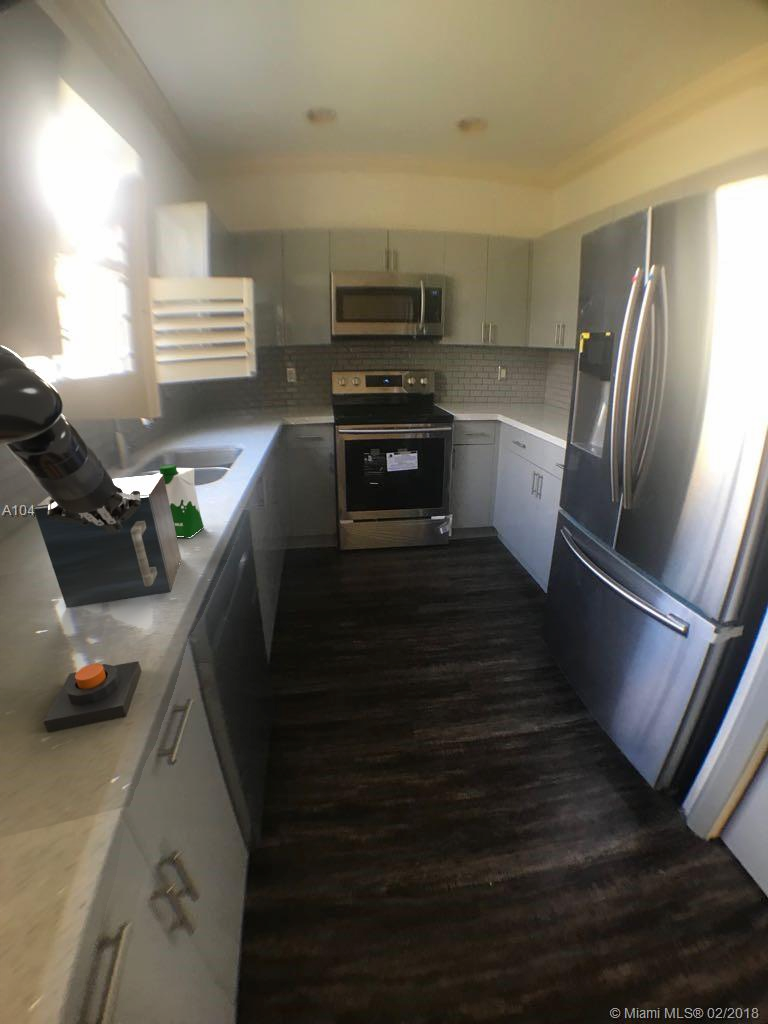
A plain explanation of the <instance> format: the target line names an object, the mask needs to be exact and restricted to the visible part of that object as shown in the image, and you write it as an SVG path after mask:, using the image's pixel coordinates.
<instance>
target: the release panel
mask: <svg viewBox="0 0 768 1024" xmlns="http://www.w3.org/2000/svg"><path fill="white" fill-rule="evenodd" d="M101 665H102V666H103V668H104V671H105V674H106V678H105V680H104V681H103V682H102V683H100V684H99V685H97V686H95V687H92V688H89V689H80V688H79V687H78V685H77V682H76V679H75V675H76V673H77V672H78V671H77V672H71V673H69V674H68V676H67V677H66V679H65V681H64V683H63V685H62V687H61V689H60V690H59V692H58V694H57V696H56V697H55V699H54V701H53V703H52V704H51V707H50V708H49V710H48V712H47V714H46V716H45V718H44V719H43V725H44V728H45V729H46V731H47V733H48V734H50V733H55V732H59V731H64V730H68V729H74V728H78V727H83V726H88V725H92V724H93V725H94V724H98V723H103V722H108V721H112V720H117V719H123V718H126V717H127V716H128V712H129V710H130V707H131V704H132V701H133V698H134V695H135V692H136V689H137V686H138V683H139V680H140V677H141V674H142V668H141V665H140V661H138V660H137V661H132V662H126V663H119V664H115V665H111V664H107V663H103V664H101Z"/></svg>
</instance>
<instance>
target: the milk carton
mask: <svg viewBox="0 0 768 1024" xmlns="http://www.w3.org/2000/svg"><path fill="white" fill-rule="evenodd" d="M158 468H159V472H157V473H154V475H160V474H163V476H164V481H165V485H166V490H167V495H168V499H169V504H170V508H171V513H172V518H173V522H174V527H175V532H176V536H184V537H191V536H192V535H194V534H195V533H196V532H198V531H199V530H200V529H202V528H203V527H204V528H205V525H204V521H203V519H202V516H201V511H200V506H199V501H198V496H197V495H198V494H197V491H196V485H195V468H194V467H177V466H176V464H173V463H172V464H163V465H161V466H159V467H158Z"/></svg>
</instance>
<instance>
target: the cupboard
mask: <svg viewBox="0 0 768 1024" xmlns="http://www.w3.org/2000/svg"><path fill="white" fill-rule="evenodd" d="M112 480H113V482H114V484H115V486H117V487H119V488H121V489H122V490H123V493H128V494H130V493H131V492H132V491H135V490H136V491H140V496H148V495H149V496H150V500H151V504H152V508H153V513H154V517H155V521H156V526H157V530H158V534H159V538H160V543H161V547H162V551H163V556H164V560H165V564H166V569H167V573H168V577H169V582H170V586H171V590H173V587H174V584H175V581H174V580H176V578H175V577H177V575H176V574H178V571H179V568H180V565H179V563H180V564H181V562H180V560H181V561H182V556H181V551H180V550H181V549H180V546H179V542H178V538H177V536H176V532H175V527H174V522H173V518H172V513H171V508H170V504H169V499H168V495H167V490H166V485H165V481H164V476H163V474H160V475H155V474H152V475H139V476H131V477H130V476H129V477H119V478H112ZM51 499H52V498H51V497H50V496H49V495H48V496H47V497H45V498H44V500H42V501H41V502H40V503H38V504H37V505H36V506H35V508H36V507H44V506H48V504H49V500H51ZM178 567H179V568H178ZM177 570H178V571H177Z"/></svg>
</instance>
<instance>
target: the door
mask: <svg viewBox="0 0 768 1024" xmlns="http://www.w3.org/2000/svg"><path fill="white" fill-rule="evenodd" d="M140 497H141V506H140V507H139V508H138V509H137V510H136V511H135V512H134V513H133V514H132V515H131V516H130V517H129V518H128V519H127V520H126V521H122V529H120V532H118V533H110V534H109V533H108V531H104V530H102V528H101V527H100V526H98V525H96V524H94V523H90V524H89V525H80V524H76V523H72V522H68V521H64V520H60V519H56V518H52V517H48V506H44V507H36V506H35V507H34V508H33V511H34V515H35V518H36V521H37V524H38V527H39V531H40V533H41V536H42V538H43V542H44V545H45V548H46V551H47V554H48V557H49V560H50V563H51V566H52V569H53V572H54V575H55V578H56V581H57V584H58V587H59V590H60V594H61V596H62V599H63V602H64V605H65V608H72V607H81V606H85V605H87V606H88V605H92V604H93V605H94V604H100V603H106V602H111V601H119V600H125V599H132V598H139V597H145V596H153V595H159V594H165V593H171V591H172V589H171V586H170V582H169V577H168V573H167V569H166V564H165V560H164V556H163V551H162V547H161V543H160V538H159V534H158V530H157V526H156V521H155V517H154V513H153V508H152V504H151V500H150V496H149V495H148V496H140ZM121 502H122V501H121ZM121 502H120V503H121ZM118 506H119V505H118ZM118 506H117V507H116V508H118ZM76 517H79V518H81V515H79V514H78V513H76Z"/></svg>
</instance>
